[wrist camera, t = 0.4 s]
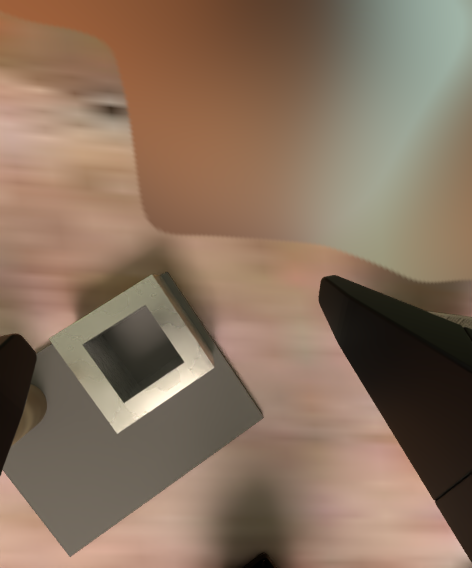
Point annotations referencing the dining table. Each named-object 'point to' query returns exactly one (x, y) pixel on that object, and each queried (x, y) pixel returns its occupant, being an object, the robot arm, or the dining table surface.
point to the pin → (31, 412)
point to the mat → (122, 434)
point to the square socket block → (110, 369)
